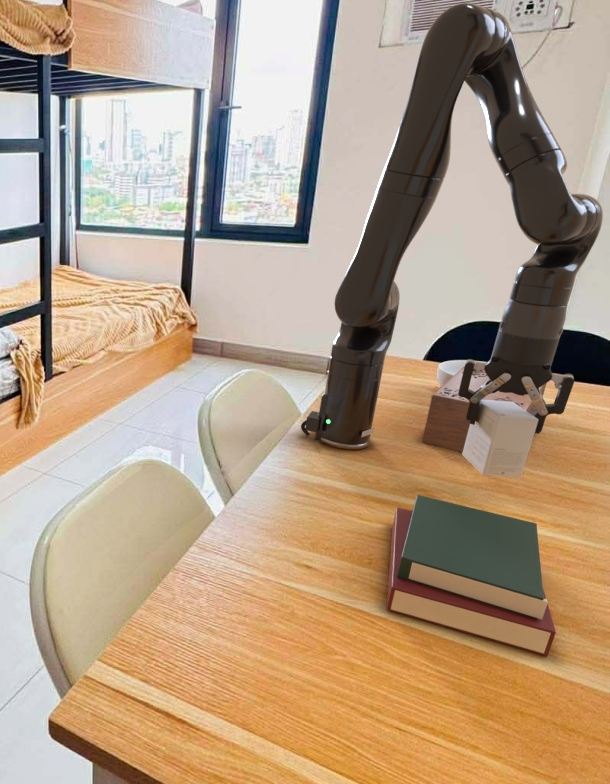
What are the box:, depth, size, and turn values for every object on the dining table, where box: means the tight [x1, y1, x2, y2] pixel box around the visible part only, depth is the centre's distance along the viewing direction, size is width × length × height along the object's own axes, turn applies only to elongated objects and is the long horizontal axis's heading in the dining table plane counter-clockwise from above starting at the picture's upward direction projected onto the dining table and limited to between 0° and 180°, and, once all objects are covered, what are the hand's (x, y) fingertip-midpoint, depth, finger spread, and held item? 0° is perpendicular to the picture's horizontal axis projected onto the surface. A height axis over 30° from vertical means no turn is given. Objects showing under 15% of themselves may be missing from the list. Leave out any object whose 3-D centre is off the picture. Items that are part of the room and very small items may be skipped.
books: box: [386, 494, 557, 657], centre depth 82 cm, size 16×22×6 cm
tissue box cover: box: [421, 366, 548, 453], centre depth 127 cm, size 26×14×10 cm, turn 135°
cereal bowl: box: [436, 359, 488, 388], centre depth 146 cm, size 17×17×7 cm
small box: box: [461, 400, 538, 479], centre depth 102 cm, size 8×6×10 cm
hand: (500, 428), depth 102 cm, fingers closed on small box, 7 cm apart
